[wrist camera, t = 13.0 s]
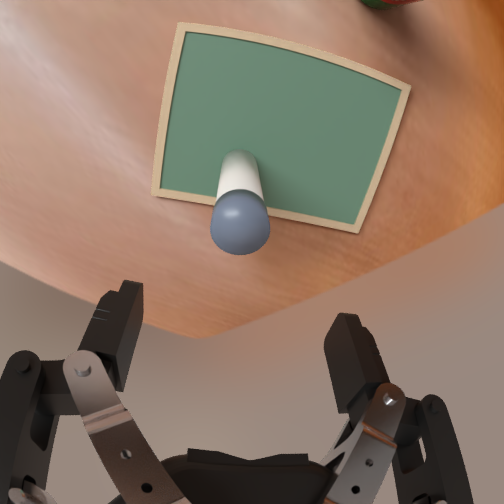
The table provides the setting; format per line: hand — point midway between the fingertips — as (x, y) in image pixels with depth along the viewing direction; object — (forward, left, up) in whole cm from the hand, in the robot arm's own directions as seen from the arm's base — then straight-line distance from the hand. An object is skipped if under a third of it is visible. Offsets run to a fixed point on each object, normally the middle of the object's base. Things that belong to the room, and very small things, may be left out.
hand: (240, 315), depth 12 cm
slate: (-3, -4, -19) cm, 20 cm away
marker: (0, 0, -19) cm, 19 cm away
